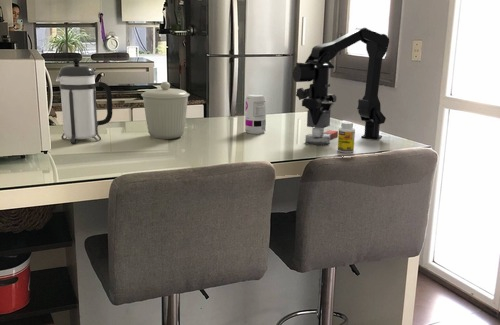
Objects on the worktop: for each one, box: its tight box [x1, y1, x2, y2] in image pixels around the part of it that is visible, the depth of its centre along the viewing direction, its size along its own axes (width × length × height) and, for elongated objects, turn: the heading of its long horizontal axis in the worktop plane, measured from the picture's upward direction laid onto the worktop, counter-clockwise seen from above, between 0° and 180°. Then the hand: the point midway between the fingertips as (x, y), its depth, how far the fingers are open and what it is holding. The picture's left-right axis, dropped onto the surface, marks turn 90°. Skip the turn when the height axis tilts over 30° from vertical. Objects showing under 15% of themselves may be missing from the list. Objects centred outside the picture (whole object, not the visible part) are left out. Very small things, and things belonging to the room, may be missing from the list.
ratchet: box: [304, 127, 339, 146], centre depth 208 cm, size 20×9×6 cm, turn 150°
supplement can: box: [244, 93, 267, 135], centre depth 220 cm, size 8×8×15 cm
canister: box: [140, 81, 191, 140], centre depth 208 cm, size 18×18×21 cm
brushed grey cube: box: [306, 109, 331, 129], centre depth 202 cm, size 6×6×6 cm
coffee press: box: [55, 57, 113, 145], centre depth 200 cm, size 17×16×30 cm
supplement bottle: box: [337, 121, 356, 154], centre depth 189 cm, size 6×6×10 cm
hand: (318, 123), depth 202 cm, fingers closed on brushed grey cube, 6 cm apart
